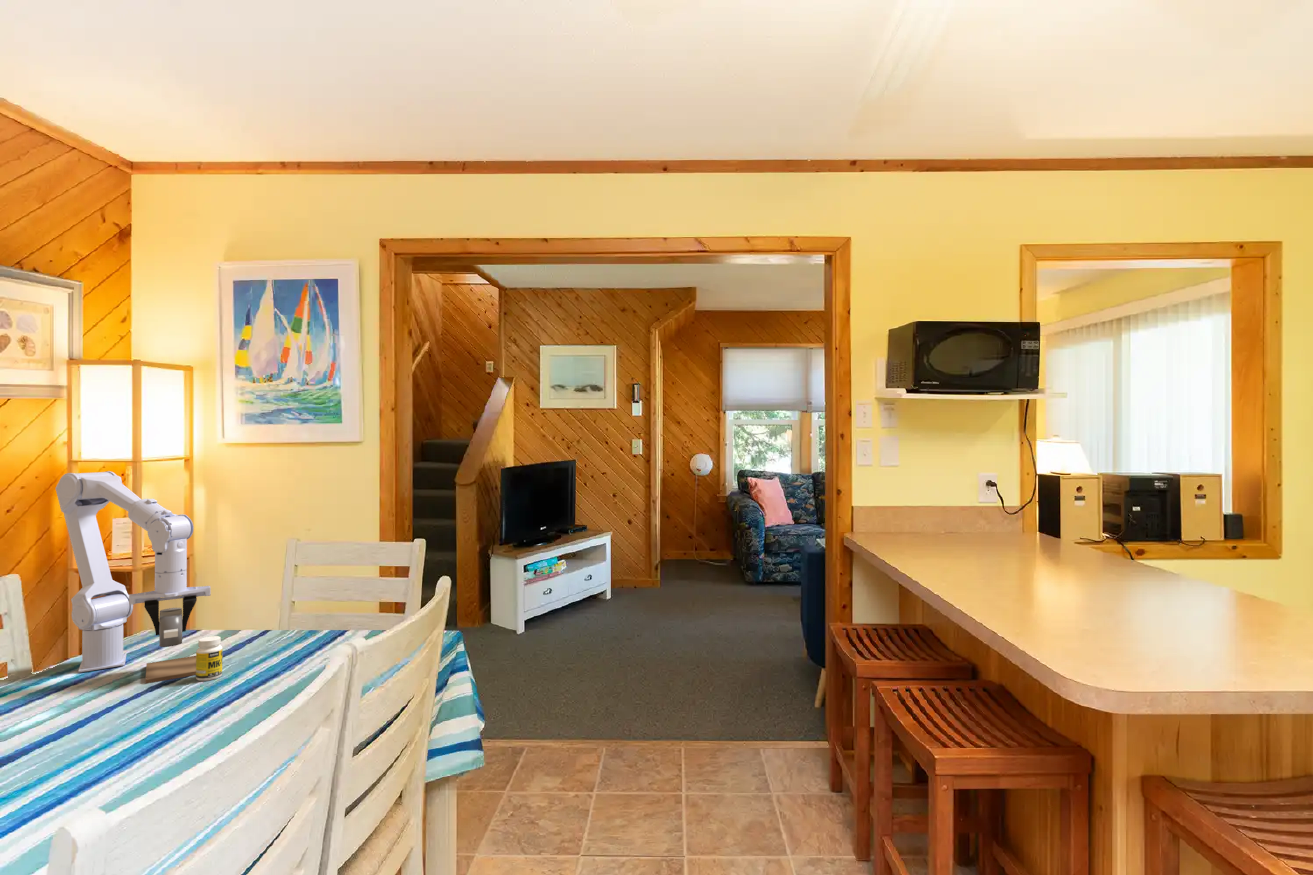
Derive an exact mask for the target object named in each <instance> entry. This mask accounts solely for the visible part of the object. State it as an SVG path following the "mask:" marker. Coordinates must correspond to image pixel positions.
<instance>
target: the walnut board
mask: <svg viewBox="0 0 1313 875" xmlns="http://www.w3.org/2000/svg"><path fill="white" fill-rule="evenodd" d="M193 676H196V655H191V656H184V657H179V658H173V659H172V658H171V659H167V660H160V661H159V660H158V661H152V662H147V663H146V667H145V679H144V680H145V682H144V683H145V684H151V683H158V682H163V681H168V680H176V679H181V678H186V677H193Z"/></svg>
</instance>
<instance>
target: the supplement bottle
mask: <svg viewBox="0 0 1313 875" xmlns="http://www.w3.org/2000/svg"><path fill="white" fill-rule="evenodd" d="M221 642H222V640H221V636H218V635H214V636H205V637H201V638H199V639H198V648H197V649H196V652H195V656H196V675H195V679H196V681H198V682H208V681H213V680H216V679H220V677H222V675H223V646H222V645H221Z"/></svg>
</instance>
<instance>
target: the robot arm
mask: <svg viewBox="0 0 1313 875" xmlns="http://www.w3.org/2000/svg"><path fill="white" fill-rule="evenodd" d="M55 491H56V495H57V500H58V503H59V506H60V511H61V513H63V515H64V516H63V517H64V520H65V524H66V528H67V532H68V535H69V539H70V544H71V547H72V551H73V552H72V553H73V555H74V559H75V563H76V567H77V570H78V576H79V577H80V582H81V587H82V588H80V589H79V591H77V592H76V594H74V595H73V597H72V598H71V599H70V601H71V604H72V605H71V608H72V610H71V619H72V622H73V624H74V625H75V626H76V627H77V628H78V630H80V631H82V632H81V633H82V635H81V636H82V637H81V639H82V641H81V642H82V643H81V644H82V645H81V647H82V650H81V654H82V657H81V662H80V665H79V668H78V673H83V672H84V673H85V672H92V671H97V670H104V669H105V670H106V669H109V668H116V667H123V666H125V665H126V660H127V659H126V658H127V653H124V624H125V623H126V622H128V621H127V620H128V618H129V617H130V616H131V615H132V613H133V610H134V605H136V604H144V608H145V611H146V612H147V614H148V615H149V617H150V620H151V621H152V624H153V627H154V632H155V636H159V617H160V607H159V606H160V602H162V601H170V600H176V599H177V600H178V599H179V600H180V599H182V633H184V632H187V624H188V622H189V618H190V616H191V613H192V611H193V609H194V607H195V605H196V603H197V597H210V596H211V593H212V592H211V590H212V589H211V585H205V586H203V585H202V586H188V581H187V575H188V572H187V571H188V570H187V569H188V559H187V558H188V540H189V539H190V538H191V537H192V535H193V533H194V530H195V529H194V528H195V527H194V523H193V521H192V519H191V518H190V517H189V516H188V515H187V514H184V513H183V514H177V513H173V511H171V510H170V509H167V508H165V507H164V506H162V505H160V504H159V503H158V500H156V499H155V498H143V499H142V498H140V497H139V496H138V495H137V494H135V492H133V491H132V490H131V489H129V488H128V487H127V486H125V485H124V483H123V481H122V477H121V476H119V475H117V474H116V473H115V472H113V471H110V470H108V471H101V472H99V471H98V472H81V473H80V472H78V473H77V472H76V473H74V472H68V473H67V472H66V473H64V474H63V475H62V476H61V477H60V479H59V480H58V482H57V484H56V487H55ZM109 503H112V504H113V505H116V506H117V507H119V508H121V509H123V510H125V512H126V511H127V512H128V513H127V516H128V520H130V521H131V522H133V523H134V524H136V525H137V526H139V527H140V528H142V529H143V530H145V531H146V532H147V536H148V538H149V541H150V542H151V549H152V551H153V552H154V590H151V591H145V592H138V593H131V594H129V593H128V591H127V588H126V585H124V584H122V583H120V582H118V581H115V580H113V577H112V574H111V569H110V565H109V561H108V558H107V555H106V551H105V546H104V543H103V540H102V535H101V531H100V527H99V523H98V519H97V514H98V512H99V511H100V510H102V509H105V507H106V506H107V505H108V504H109ZM187 586H188V587H187Z"/></svg>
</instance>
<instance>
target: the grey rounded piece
mask: <svg viewBox="0 0 1313 875" xmlns="http://www.w3.org/2000/svg"><path fill="white" fill-rule="evenodd" d="M182 618H183V607H169V608H164V609H161V610H159V635H158V637H159V642H158V643H159V647H160V648H169V647H175V646H179V645H181V644H183V632H182Z"/></svg>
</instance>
